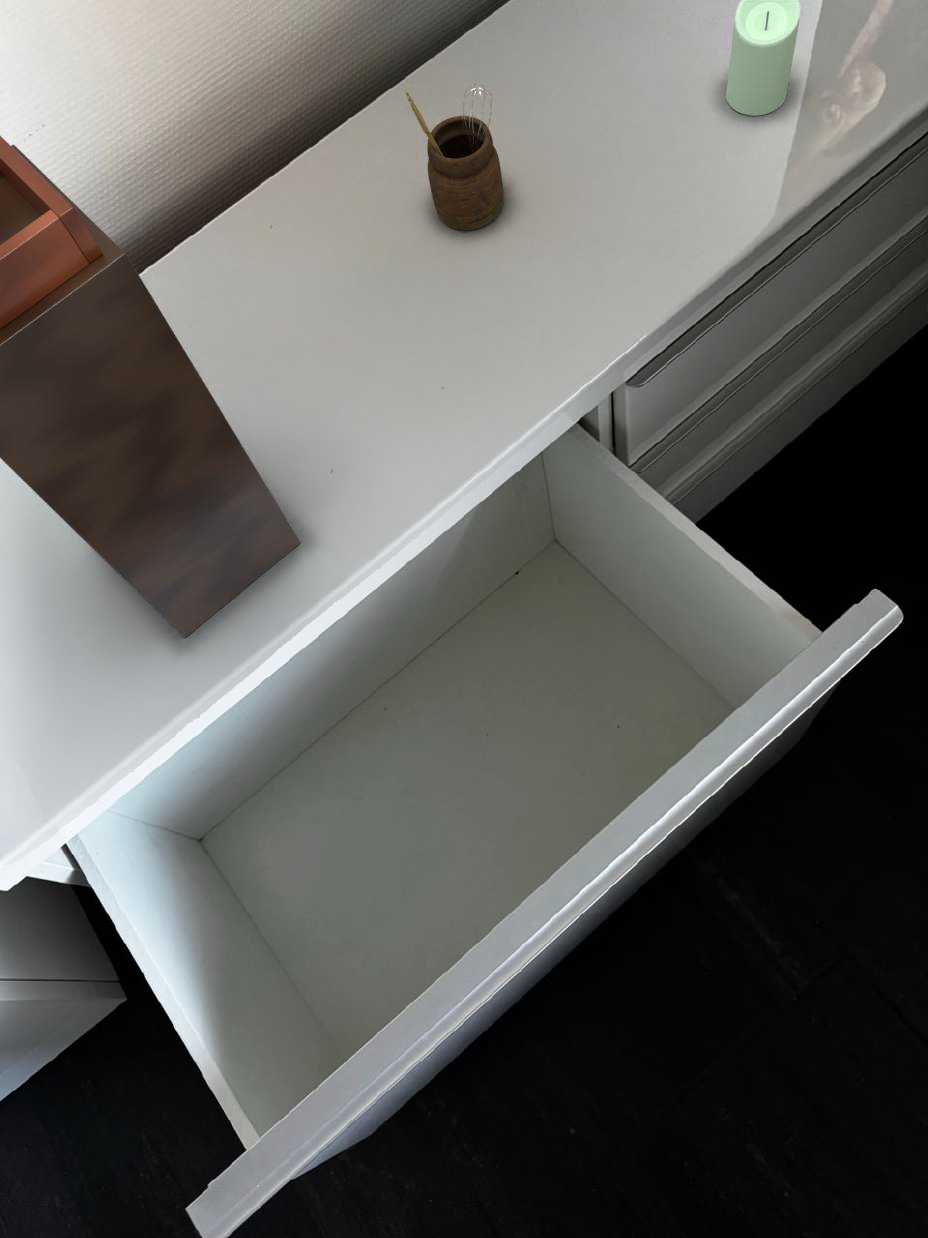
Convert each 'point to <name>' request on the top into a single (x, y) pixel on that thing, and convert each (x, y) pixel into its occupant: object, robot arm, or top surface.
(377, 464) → the top surface
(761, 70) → the candle
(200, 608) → the holder
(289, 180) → the top surface
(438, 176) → the utensil holder
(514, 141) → the top surface
